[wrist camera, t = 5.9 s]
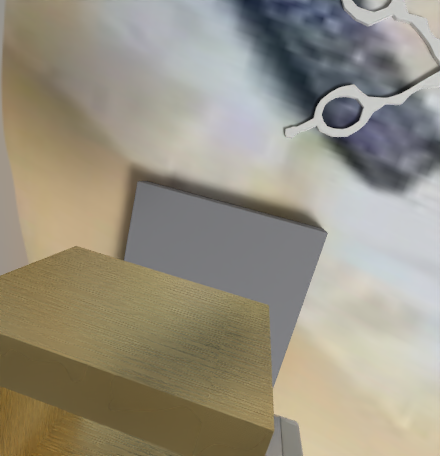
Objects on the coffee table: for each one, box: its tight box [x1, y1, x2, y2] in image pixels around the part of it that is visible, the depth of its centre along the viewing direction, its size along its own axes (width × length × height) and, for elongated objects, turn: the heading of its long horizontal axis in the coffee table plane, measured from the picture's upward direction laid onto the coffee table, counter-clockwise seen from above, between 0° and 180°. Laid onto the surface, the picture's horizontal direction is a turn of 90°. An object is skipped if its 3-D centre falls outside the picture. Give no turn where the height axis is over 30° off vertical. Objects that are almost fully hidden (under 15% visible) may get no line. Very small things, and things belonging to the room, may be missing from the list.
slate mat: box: [124, 181, 328, 387], centre depth 22 cm, size 19×14×2 cm
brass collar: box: [0, 246, 274, 456], centre depth 7 cm, size 6×6×4 cm
